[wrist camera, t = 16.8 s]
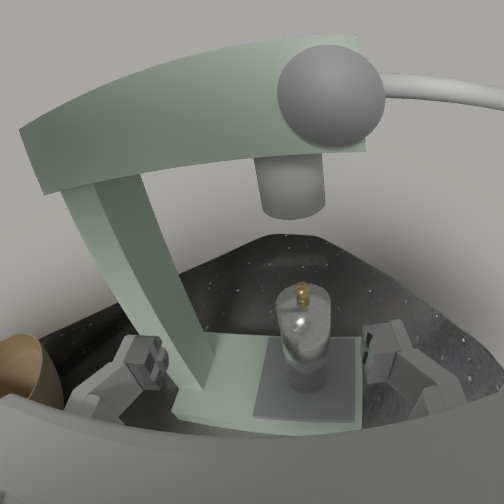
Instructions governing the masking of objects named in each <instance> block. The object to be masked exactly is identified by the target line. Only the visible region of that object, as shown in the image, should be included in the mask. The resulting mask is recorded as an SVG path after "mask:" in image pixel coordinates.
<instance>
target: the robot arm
mask: <svg viewBox="0 0 504 504" xmlns="http://www.w3.org/2000/svg"><path fill="white" fill-rule="evenodd" d="M362 332H363V336H364V337H363V338H362V339H361V344H360V352H361V358H362V362H363V363H364V364H366V365H365V369H364V372H365V376H366V381H367V384H371V383H379V382H386V381H388V383H389V384H390V385H391V386H392V387H393V388H394V389H395V390H396V391H397V392H398V393H399V394H400V396H401V397H402V398H403V399H404V400H405V401H406V402H407V403H408V404H409V405H410V406H411V407H412V408H413V410H412V411H411V413H410V415H409V417H408V418H407V420H406V421H403V422H398V423H393V424H388V425H383V426H378V427H372V428H366V429H360V430H353V431H346V432H338V433H329V434H319V435H306V436H290V437H218V436H202V435H190V434H179V433H171V432H163V431H155V430H148V429H142V428H136V427H130V426H125V425H124V423H123V422H122V421H121V420H120V419H119V418H118V417H119V416H120V415H121V414H122V412H123V411H124V410H125V409H126V408H127V407H128V406H129V405H130V404H131V403H132V402H133V401H134V400H135V399H136V398H137V397H138V396H139V395H140V394H141V393H142V392H143V390H157V391H161V388H162V385H163V382H164V379H165V378H164V376H163V373H164V372H166V371H167V369H168V366H169V356H168V352H167V350H166V349H165V348H164V347H162V346H161V345H162V340H161V338H160V337H159V336H146V335H126V336H125V337H124V339H123V341H122V343H121V345H120V347H119V349H118V351H117V353H116V356H115V358H114V360H113V362H109V363H108V364H106V365H105V366H104V367H102V368H101V369H100V370H99V371H97V372H96V373H95V374H93V375H92V376H91V377H89V378H88V379H87V380H85V381H84V382H83V383H81V384H80V385H79V386H77V387H76V388H75V389H73V391H72V393H71V396H70V398H69V400H68V402H67V404H66V406H65V408H64V410H59V409H56V408H53V407H50V406H47V405H44V404H41V403H38V402H35V401H32V400H29V399H27V398H24V397H21V396H19V395H16V394H8V395H6V396H4V397H3V398H1V399H0V504H504V390H502V391H499V392H497V393H494V394H492V395H489V396H487V397H484V398H481V399H479V400H476V401H473V402H470V403H467V400H466V398H465V395H464V392H463V390H462V387H461V385H460V382H459V380H458V378H457V377H455V376H454V375H453V374H451V373H450V372H448V371H447V370H446V369H444V368H443V367H442V366H440V365H439V364H437V363H436V362H435V361H433V360H432V359H431V358H429V357H428V356H426V355H425V354H424V353H422V352H421V351H419V350H418V349H413V347H412V344H411V341H410V339H409V337H408V334H407V332H406V329H405V327H404V324H403V322H402V320H401V319H397V320H391V321H384V322H377V323H370V324H364V326H363V330H362Z"/></svg>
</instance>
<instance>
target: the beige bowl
mask: <svg viewBox="0 0 504 504" xmlns="http://www.w3.org/2000/svg"><path fill="white" fill-rule="evenodd" d="M8 394H16V395H19V396H21V397H24V398H27V399H29V400H32V401H35V402H38V403H41V404H44V405H47V406H50V407H53V408H56V409H59V410H64V397H63V391H62V386H61V382H60V379H59V376H58V374H57V371H56V369H55V366H54V364H53V362H52V361H51V359H50V357H49V355H48V353H47V352H46V350H45V349H44V347H43V346H42V344H41V343H40V342H39V340H38V339H37V338H36V337H35V336H33V335H32V334H30V333H26V332H19V333H15V334H12V335H9V336H7V337H6V338H4V339H3V340H1V341H0V399H1V398H3V397H4V396H6V395H8Z"/></svg>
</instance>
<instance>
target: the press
mask: <svg viewBox="0 0 504 504" xmlns="http://www.w3.org/2000/svg"><path fill="white" fill-rule="evenodd" d="M385 98H402V99H419V100H431V101H441V102H451V103H459V104H466V105H473V106H480V107H485V108H491V109H496V110H501V111H504V89H503V88H499V87H494V86H490V85H485V84H480V83H474V82H469V81H463V80H457V79H450V78H442V77H434V76H425V75H414V74H400V73H378V72H377V71H376V69H375V68H374V67H373V65H372V64H371V63H370V62H369V61H368V60H367V59H366V58H364V57H363V56H362V55H360V54H359V53H358V46H357V39H356V35H355V34H343V35H317V36H302V37H291V38H281V39H273V40H266V41H259V42H253V43H247V44H241V45H235V46H230V47H225V48H220V49H216V50H211V51H207V52H203V53H199V54H195V55H191V56H187V57H184V58H180V59H176V60H174V61H170V62H167V63H163V64H160V65H157V66H154V67H151V68H148V69H145V70H142V71H139V72H136V73H134V74H131V75H128V76H126V77H123V78H121V79H118V80H115V81H113V82H111V83H108V84H105V85H103V86H101V87H98V88H96V89H94V90H92V91H89V92H87V93H85V94H83V95H81V96H79V97H77V98H75V99H72V100H71V101H68V102H66V103H64V104H63V105H61V106H59V107H57V108H55V109H53V110H51V111H49V112H48V113H46V114H44V115H42V116H40V117H39V118H37V119H35V120H33V121H32V122H30V123H29V124H27V125H25V126H24V127H22V128H20V129H19V132H20V134H21V137H22V140H23V143H24V146H25V149H26V152H27V154H28V157H29V159H30V162H31V165H32V167H33V170H34V172H35V175H36V177H37V179H38V182H39V184H40V186H41V189H42V191H43V193H44V195H47V194H51V193H55V192H58V191H61V194H62V196H63V198H64V200H65V203H66V205H67V207H68V209H69V211H70V214H71V216H72V218H73V220H74V222H75V224H76V226H77V228H78V230H79V232H80V234H81V236H82V238H83V240H84V242H85V244H86V246H87V248H88V250H89V252H90V253H91V255H92V257H93V259H94V261H95V263H96V264H97V266H98V268H99V270H100V271H101V273H102V275H103V277H104V279H105V280H106V282H107V284H108V286H109V287H110V289H111V291H112V292H113V294H114V296H115V297H116V299H117V301H118V302H119V304H120V305H121V307H122V309H123V310H124V312H125V313H126V315H127V316H128V318H129V320H130V321H131V323H132V324H133V326H134V327H135V329H136V330H137V332H138V333H139V335H146V336H159V337H160V338H161V340H162V345H161V346H162V347H164V348H165V349H166V350H167V352H168V356H169V366H168V369H167V371H166V372H167V374H168V375H169V376H170V378H171V379H172V380H173V382H174V383H175V384H176V385H177V387H178V388H179V391H178V394H177V397H176V399H175V402H174V405H173V408H172V411H171V412H172V413H173V414H174V415H175V416H176V417H177V418H178V419H180V420H184V421H189V422H194V423H199V424H204V425H209V426H215V427H221V428H227V429H234V430H241V431H249V432H257V433H266V434H277V435H290V436H306V435H319V434H329V433H338V432H346V431H353V430H360V429H362V358H361V352H360V344H361V337H330V347H329V366H328V379H327V382H326V384H325V386H324V387H323V388H322V389H321V390H319V391H317V392H315V393H312V394H302V393H299V392H297V391H295V390H294V389H293V388H292V387H291V386H290V384H289V381H288V376H287V370H286V364H285V358H284V352H283V346H282V340H281V336H262V335H243V334H227V333H213V332H204V331H203V329H202V327H201V325H200V323H199V320H198V318H197V316H196V314H195V312H194V309H193V307H192V305H191V303H190V300H189V298H188V296H187V294H186V291H185V289H184V287H183V284H182V282H181V280H180V277H179V275H178V273H177V270H176V268H175V265H174V263H173V260H172V258H171V256H170V253H169V251H168V248H167V246H166V243H165V241H164V238H163V236H162V233H161V231H160V228H159V225H158V223H157V220H156V217H155V215H154V212H153V210H152V207H151V204H150V201H149V198H148V196H147V193H146V190H145V187H144V184H143V182H142V179H141V176H140V174H141V173H146V172H152V171H158V170H164V169H170V168H176V167H183V166H189V165H197V164H204V163H212V162H220V161H229V160H238V159H248V158H254V163H255V169H256V174H257V180H258V185H259V191H260V196H261V202H262V207H263V211H264V212H265V213H266V214H267V215H269V216H271V217H273V218H277V219H284V220H295V219H302V218H306V217H309V216H312V215H314V214H316V213H317V212H319V211H320V210H321V209H322V208H323V207H324V205H325V192H324V177H323V165H322V153H341V152H366V148H365V147H366V146H365V137H366V136H367V135H369V134H370V133H371V132H372V131H373V130H374V128H375V127H376V126H377V124H378V123H379V121H380V119H381V117H382V115H383V111H384V107H385Z"/></svg>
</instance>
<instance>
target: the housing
mask: <svg viewBox="0 0 504 504" xmlns="http://www.w3.org/2000/svg"><path fill="white" fill-rule="evenodd" d="M276 311H277V317H278V323H279V328H280V334H281V340H282V346H283V352H284V358H285V364H286V370H287V376H288V381H289V384H290V386H291V387H292V388H293V389H294V390H295V391H297V392H299V393H302V394H312V393H315V392H317V391H319V390H321V389H322V388H323V387H324V386H325V384H326V382H327V379H328V366H329V347H330V319H331V299H330V296H329V294H328V292H327V291H326V290H325V289H323V288H322V287H320V286H318V285H315V284H310V283H306V282H298V283H297V284H295V285H292V286H290V287H288V288H286V289H285V290H283V291H282V292H281V293H280V294H279V296H278V297H277V300H276Z"/></svg>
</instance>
